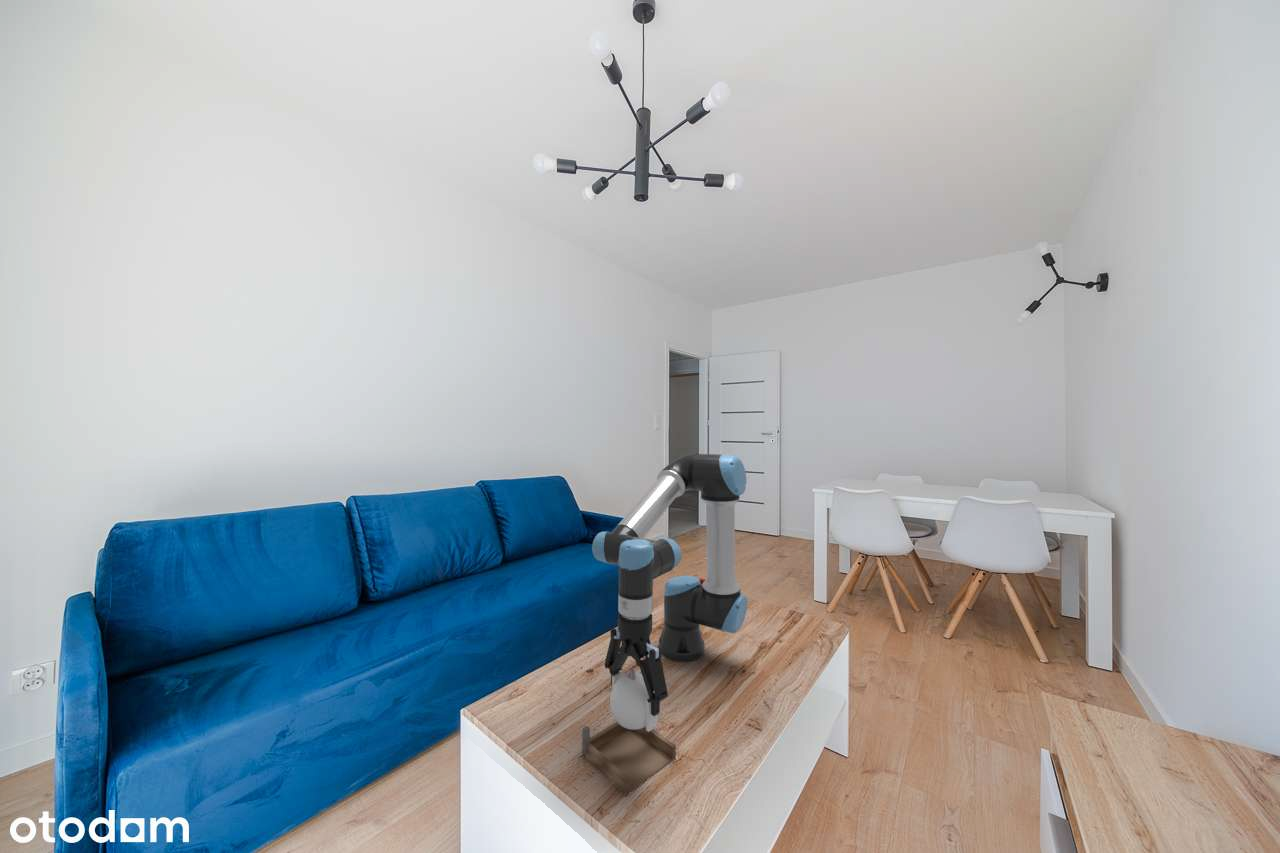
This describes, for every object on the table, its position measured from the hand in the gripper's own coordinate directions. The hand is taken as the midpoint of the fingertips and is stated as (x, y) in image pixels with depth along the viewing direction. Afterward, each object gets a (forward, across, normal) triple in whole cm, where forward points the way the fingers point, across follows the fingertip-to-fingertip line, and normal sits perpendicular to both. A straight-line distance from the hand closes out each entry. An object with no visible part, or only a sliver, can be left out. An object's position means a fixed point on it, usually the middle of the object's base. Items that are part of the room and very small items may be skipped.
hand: (633, 715), depth 94 cm
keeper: (+10, -2, 0) cm, 10 cm away
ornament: (+2, 0, 0) cm, 2 cm away
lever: (+10, -50, +87) cm, 101 cm away
